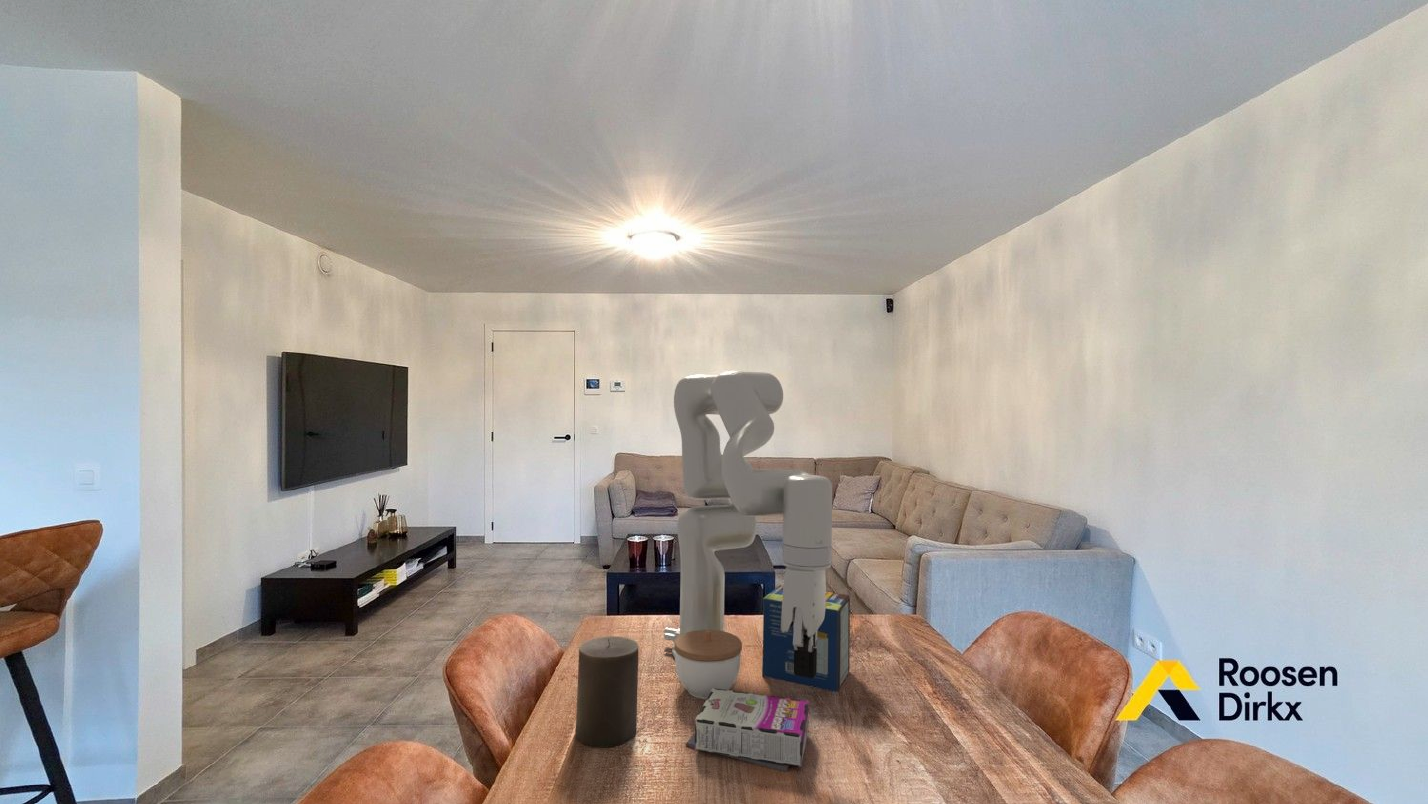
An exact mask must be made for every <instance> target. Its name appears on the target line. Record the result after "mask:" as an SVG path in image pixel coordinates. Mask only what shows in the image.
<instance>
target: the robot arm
mask: <svg viewBox="0 0 1428 804" xmlns="http://www.w3.org/2000/svg"><path fill="white" fill-rule="evenodd" d="M783 402H784V390H783V386H782V384H781V382H780V380H779V379H778V378H777V377H776V376H775V375H774V374H772V373H769V372H763V371H762V372H761V371H744V370H728V371H725V372H722V373H720V374H719V375H713V374H694V375H688V376H685V377H682V378H681V379H679V381H678V382H677V384H676V386H675V389H674V393H673V408H674V414H675V418H676V421H677V424H678V427H679V432H680V433H679V434H680V437H681V463H682V464H681V467H682V468H681V469H682V472H681V473H682V484H683V485H682V486H683V491H684V493H685V495H686V496H687V497H688V498H690V499H693V500H703V501H704V500H727V499H728V503H729V504H723V505H721V504H720V505H719V504H718V505H717V504H715V505H699V506H693V507H689V508H687V509H685V510H683V511H682V512H681V513H680V515H678V518H677V522H676V523H677V524H676V525H677V526H676V529H677V537H678V546H679V554H680V588H679V589H680V597H679V627H678V629H677V628H673V627H668V626H667V627H665V628H664V632H663V635H664V636H663V639H664V640H665V641H673V642H674V643H675V640H676V639H677V637H679V636H680V635H682V634H684V633H687V632H691V631H696V630H718V631H724V630H725V629H724V628H725V623H724V622H725V579H726V578H725V577H726V575H725V569H724V566H723V565H722V563H721V561H719V559H718V557H717V556H716V555H715V552H716V551H717V552H718V551H722V550H734V549H741V548H747V547H749V546H751V545H752V544H753V542H754V541H755V538H756V534H757V517H770V516H782V517H783V518H782V558H781V559H782V560H781V561H782V562H781V563H782V565H783V566H784V567H785V571H784V578H783V585H782V586H783V598H782V615H781V631H782V632H783V633H787V632H788V631H789V630H790V628H791V627H792V626H793V628H794V634H793V646H794V674H795V675H798V676H803V677H808V678H814V676H815V674H816V672H817V648H816V645H817V630H818V628H819V627H820V625H821V624H822V622H823V620H824V617H825V607H826V592H827V590H826V588H827V585H826V584H827V583H826V580H827V579H826V574H827V573H826V570H827V569H830V568H832V552H833V551H832V547H833V546H832V543H833V542H832V539H833V538H832V535H833V532H832V531H833V484H832V481H831V480H830V479H829V478H828V477H826V476H823V475H817V474H810V473H808V472H807V471H804V470H801V469H758V470H757V469H754V470H753V467H752V465H751V463H750V462H749V461H748V460H747V459H746V458H745V456H747V455H748V454H749V455H750V454H751V453H753V452H755V451H756V450H759V449H760V448H762V447H764V446H765V445H766V444H767V443H768V442H769V441H770V440H771V438H772V437H773V435H774V432H775V423H774V420H773V419H772V417H771V415H773V414H775V413H776V412H778V411H779V410H780V409H781V407H782V405H783ZM708 415H718V416H719V417H720V419H721V421H722V422H723V426H724V428H725V430H726V432H727V434H728V436H729V439H728V441H727V442H726V445H725V447H724V449H723V453H722V452H721V437H720V436H721V435H720V431H719V430H718V429H717V427H716V426H715V424H714V422H713V421H712V420H711V419H710V418H709V416H708ZM724 632H725V631H724ZM813 647H815V648H813ZM671 654H672V656H673V657H674V659H675V644H673V646H672V648H671Z"/></svg>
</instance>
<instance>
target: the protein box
mask: <svg viewBox="0 0 1428 804" xmlns="http://www.w3.org/2000/svg"><path fill="white" fill-rule="evenodd" d="M782 598H783V585H781V584H780V585H778V586H777V587H776V588H774V589H773V590H772V591H771V592H769V593H768V594H767V595H765V596H764V597H763V599H762V600H763V608H762V610H763V617H762V620H763V621H762V622H763V623H762V660H761V661H762V663H761V664H762V665H761V666H762V667H761V671H762V672H761V676H762V677H766V678H770V679H775V680H779V681H783V682H784V681H785V682H789V683H793V684H797V685H803V686H807V687H812V688H816V689H821V690H825V691H830V692H834V693H837V692H839V690H840V688H841V687H842V684H843V683H844V681H845V680H846V678H847V676H848V675H849V673H850V670H851V669H850V668H851V667H850V666H851V664H850V661H851V659H850V656H851V655H850V653H851V652H850V647H851V646H850V645H851V643H850V641H851V639H850V634H851V633H850V631H851V630H850V629H851V628H850V624H851V623H850V622H851V618H850V617H851V616H850V615H851V596H850V594H845V593H835V592H830V591H826V607H825V617H824V620H823V622H822V624H821V625H820V627H819V628H818V630H817V645H816V648H817V672H816V674H815V676H814V678H808V677H803V676H798V675H795V674H794V646H793V634H794V628H793V626H792V627H791V628H790V630H789V631H788V632H787V633H783V632H782V631H781V615H782ZM813 648H815V647H813Z"/></svg>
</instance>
